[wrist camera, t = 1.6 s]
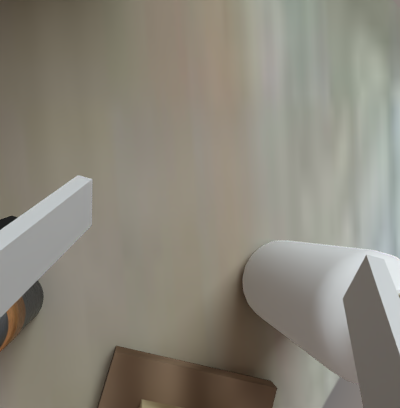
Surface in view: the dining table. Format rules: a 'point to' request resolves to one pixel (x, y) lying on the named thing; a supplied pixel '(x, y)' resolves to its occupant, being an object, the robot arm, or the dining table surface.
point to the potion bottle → (310, 295)
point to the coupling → (20, 314)
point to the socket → (178, 384)
